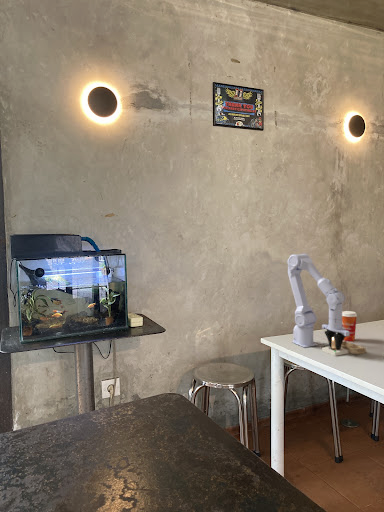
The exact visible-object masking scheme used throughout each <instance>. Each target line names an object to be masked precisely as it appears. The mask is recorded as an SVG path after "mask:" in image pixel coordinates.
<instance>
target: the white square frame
mask: <svg viewBox="0 0 384 512" xmlns="http://www.w3.org/2000/svg"><path fill="white" fill-rule="evenodd" d="M321 352H323V353H326V354H329V355H331V356H333V357H337V356H343V355H347V354H349V353H348V350H347V349H344V348H341V349H339V350H337V351H334V350H331V347H330V346H325V347H321Z"/></svg>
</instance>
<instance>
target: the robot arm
mask: <svg viewBox="0 0 384 512" xmlns="http://www.w3.org/2000/svg"><path fill="white" fill-rule="evenodd" d="M286 263H287V275H288V279H289V283H290V287H291V291H292V294H293V297H294V301H295V306H296V309H295V311H294V323H295V325H294V327H293V329H292V330H293V331H292V333H293V337H292V338H293V340H292V341H291V343H293V344H295V345H298V346H300V347H302V348H308V347H314V346H318V344H317V343H316V342H314V327H315V326H314V325H315V323H316V322H317V315H316V314H315V312H314V310H313V308H312V307H311V306H310V305H309V303H308V300H307V295H306V292H305V288H304V285H303V280H302V277H301V273H302V271H303V270H304V271H306V272H308V274H309V275H310V276H311V277H312V278H313V279H314V280H315V281H316V282H317V288H318V289H319V290H320V291H321V292H322V294H323V295H324V296H325V297H326V298H325V301H326V303H327V304H328V324H326V323H324V324H322V325H321V330H322V329H323V330H325V331H324V334H325V337H326V338H327V341H328V345H329V346H330V347H331V337H332V336H334V338H335V345H336V349H337V350H338V349H341V345H342V342H343V341H344V338H345V337H346V336H349V331H347V330H345V329H343V327H342V312H343V303H344V302H345V301H346V296H345V294H344V292H343V291H341V290H338V288H336V286H334V284H333V283H332V280H330V279H329V278H326V277H324V276H323V275H322V273H321V272H320V270H319V269H318V268H317V266H316V265H315V264H314V262H313V259H312V258H311V257H310V256H309V254H307V253H301V254H295V253H294V254H291V255H290V256H289V257H288V258H287V261H286Z"/></svg>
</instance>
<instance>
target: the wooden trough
mask: <svg viewBox="0 0 384 512" xmlns="http://www.w3.org/2000/svg"><path fill="white" fill-rule="evenodd" d="M341 348H344V349H347V350H348V354H352V355H354V356H357V355H362V354H366V353H367V348H366V347H363V346H360V345H358V344H355V343H352V342H348V341H344V340H343V342H342V345H341Z"/></svg>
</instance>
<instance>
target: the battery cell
mask: <svg viewBox="0 0 384 512" xmlns="http://www.w3.org/2000/svg"><path fill="white" fill-rule="evenodd" d="M331 350H334V351H337V349H336V345H335V338H334V336H332V337H331ZM338 350H339V349H338Z"/></svg>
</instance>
